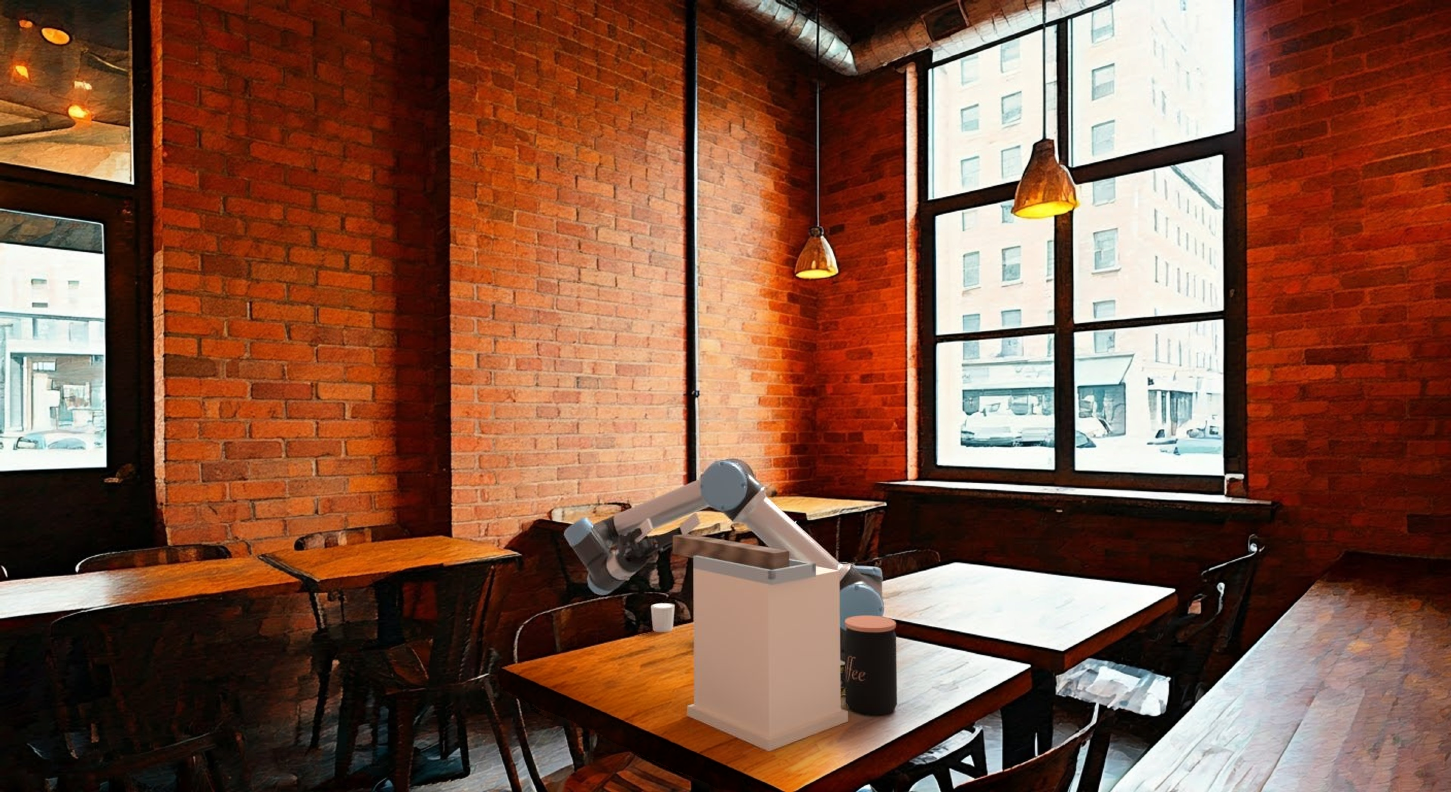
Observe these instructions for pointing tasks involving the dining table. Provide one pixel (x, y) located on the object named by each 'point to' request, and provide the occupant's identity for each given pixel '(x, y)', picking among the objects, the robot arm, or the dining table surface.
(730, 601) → the plinth
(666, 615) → the white cup
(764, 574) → the tray
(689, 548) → the walnut bar
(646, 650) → the dining table surface
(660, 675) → the dining table surface
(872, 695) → the coffee jar
